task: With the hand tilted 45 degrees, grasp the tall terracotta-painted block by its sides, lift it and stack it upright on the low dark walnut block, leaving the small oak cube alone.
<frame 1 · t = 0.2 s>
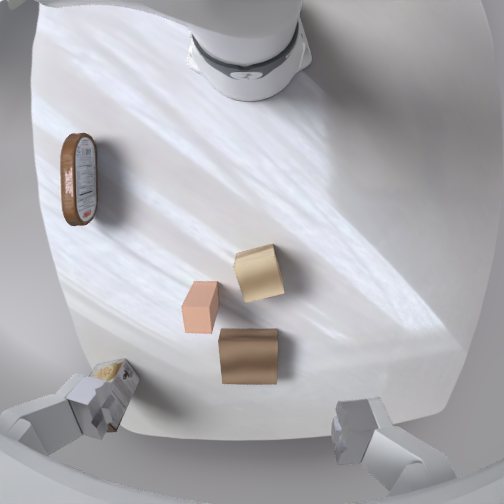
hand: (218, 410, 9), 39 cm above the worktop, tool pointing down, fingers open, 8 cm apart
walnut block: (249, 351, 55), on the worktop
tin: (93, 176, 46), on the worktop
coffee box: (118, 371, 59), on the worktop
oak cube: (259, 265, 50), on the worktop
terracotta block: (206, 293, 51), on the worktop
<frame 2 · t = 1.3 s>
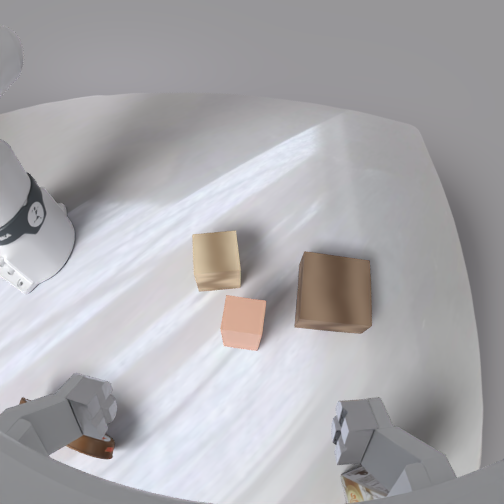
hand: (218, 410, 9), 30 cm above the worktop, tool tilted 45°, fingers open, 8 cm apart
walnut block: (330, 298, 44), on the worktop
tin: (78, 427, 32), on the worktop
coffee box: (365, 491, 30), on the worktop
oak cube: (218, 271, 45), on the worktop
terracotta block: (242, 334, 41), on the worktop
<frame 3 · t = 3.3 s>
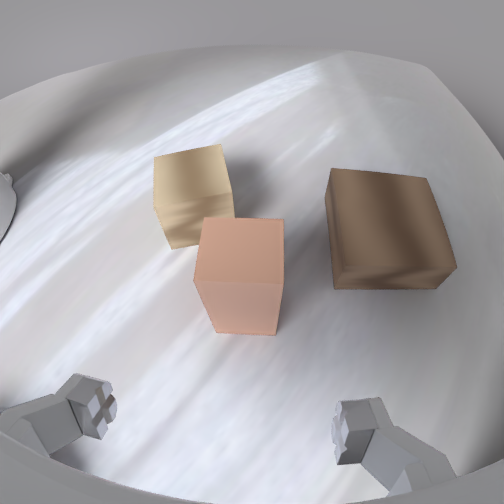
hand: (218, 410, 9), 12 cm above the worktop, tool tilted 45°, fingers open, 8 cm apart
walnut block: (380, 240, 27), on the worktop
oak cube: (200, 218, 29), on the worktop
terracotta block: (247, 310, 24), on the worktop
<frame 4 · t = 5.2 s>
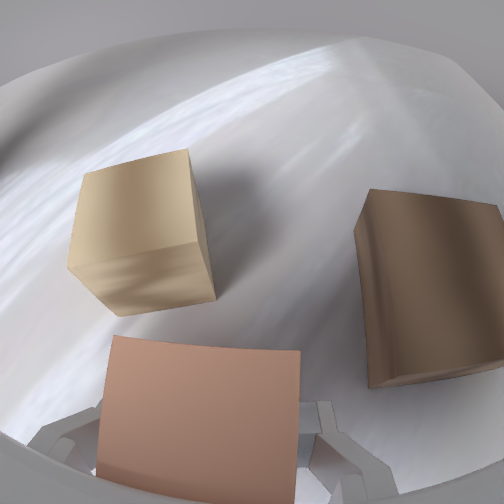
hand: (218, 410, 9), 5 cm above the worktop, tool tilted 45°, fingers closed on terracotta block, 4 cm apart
walnut block: (434, 300, 16), on the worktop
oak cube: (162, 265, 18), on the worktop
terracotta block: (230, 426, 13), on the worktop, touching gripper
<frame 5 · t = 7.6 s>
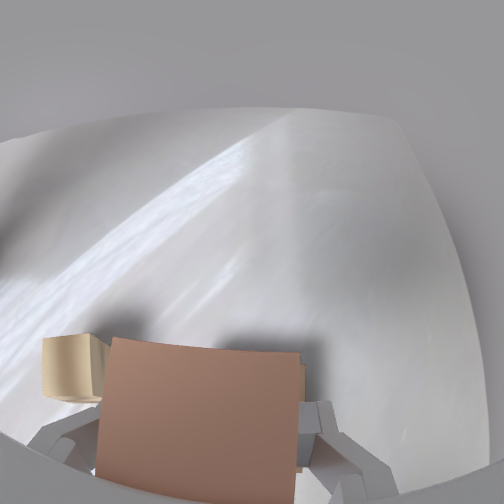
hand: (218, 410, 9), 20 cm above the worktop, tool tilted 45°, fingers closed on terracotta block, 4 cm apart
oak cube: (93, 377, 28), on the worktop
terracotta block: (230, 427, 13), point 15 cm above the worktop, touching gripper
when the fingers open (10 cm above the worktop, at t = 9.9 s): terracotta block stays where it is, resting on walnut block.
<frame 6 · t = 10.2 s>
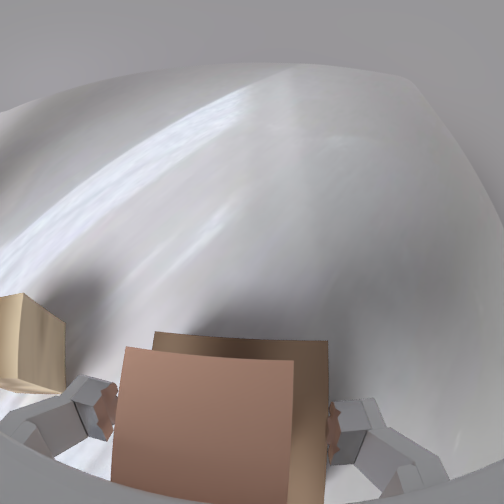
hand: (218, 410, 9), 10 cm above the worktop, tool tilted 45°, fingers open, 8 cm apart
walnut block: (238, 425, 17), on the worktop
oak cube: (39, 359, 19), on the worktop
terracotta block: (231, 426, 14), point 4 cm above the worktop, touching walnut block
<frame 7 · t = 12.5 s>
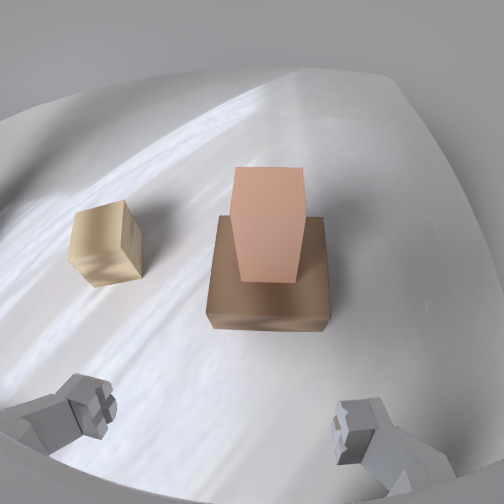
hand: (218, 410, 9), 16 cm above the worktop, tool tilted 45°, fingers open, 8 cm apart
walnut block: (269, 282, 30), on the worktop
oak cube: (118, 260, 32), on the worktop
terracotta block: (269, 261, 26), point 4 cm above the worktop, touching walnut block
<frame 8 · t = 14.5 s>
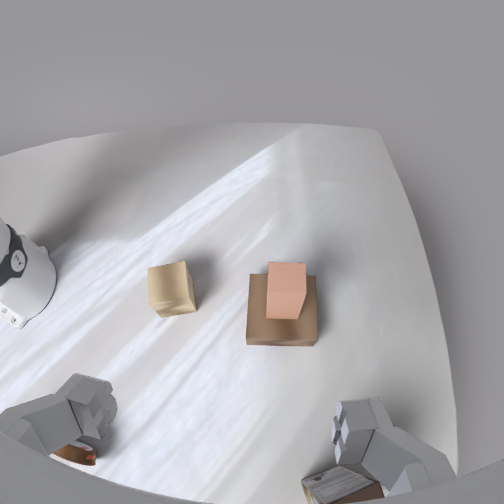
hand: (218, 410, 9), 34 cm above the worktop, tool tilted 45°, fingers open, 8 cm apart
walnut block: (281, 315, 47), on the worktop
tin: (68, 441, 35), on the worktop
coffee box: (328, 496, 32), on the worktop
oak cube: (176, 298, 49), on the worktop
terracotta block: (282, 305, 44), point 4 cm above the worktop, touching walnut block
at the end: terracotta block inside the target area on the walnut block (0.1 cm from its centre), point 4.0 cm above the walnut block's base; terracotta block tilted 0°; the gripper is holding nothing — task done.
